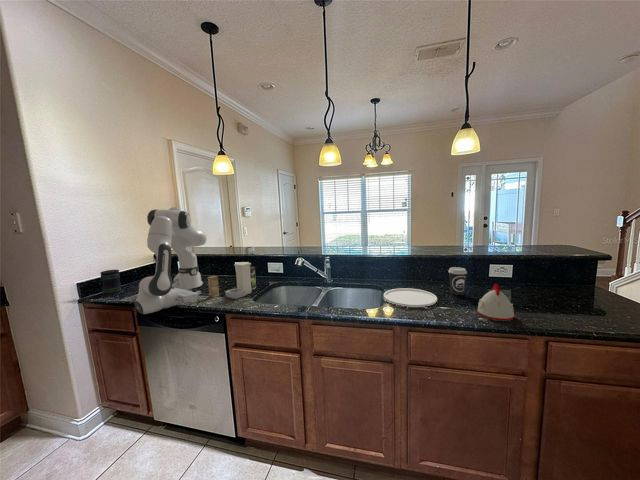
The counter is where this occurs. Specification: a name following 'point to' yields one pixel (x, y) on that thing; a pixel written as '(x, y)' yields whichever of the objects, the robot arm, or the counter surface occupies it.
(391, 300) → the plate
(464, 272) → the coffee cup
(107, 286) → the storage jar
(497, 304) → the kitchen timer
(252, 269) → the coffee can
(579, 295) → the counter surface
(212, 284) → the tan rectangular block
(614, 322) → the counter surface
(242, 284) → the boot
